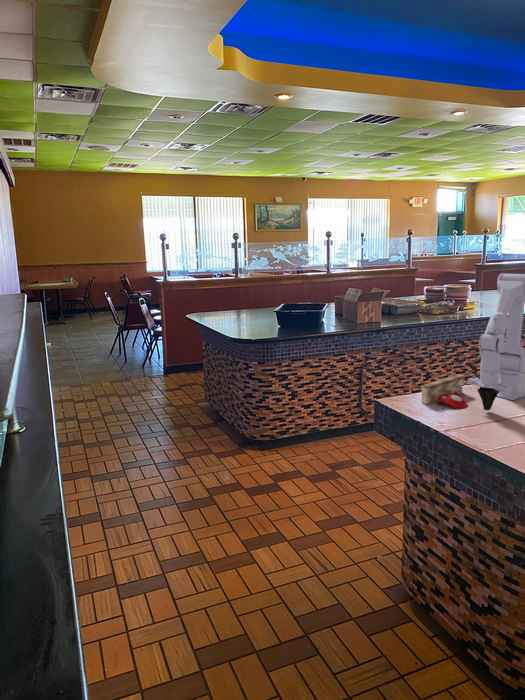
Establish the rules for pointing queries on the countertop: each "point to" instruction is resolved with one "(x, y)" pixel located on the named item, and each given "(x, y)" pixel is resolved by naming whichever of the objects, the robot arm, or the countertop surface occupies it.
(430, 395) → the wall board
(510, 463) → the countertop surface
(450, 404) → the tracker holder
